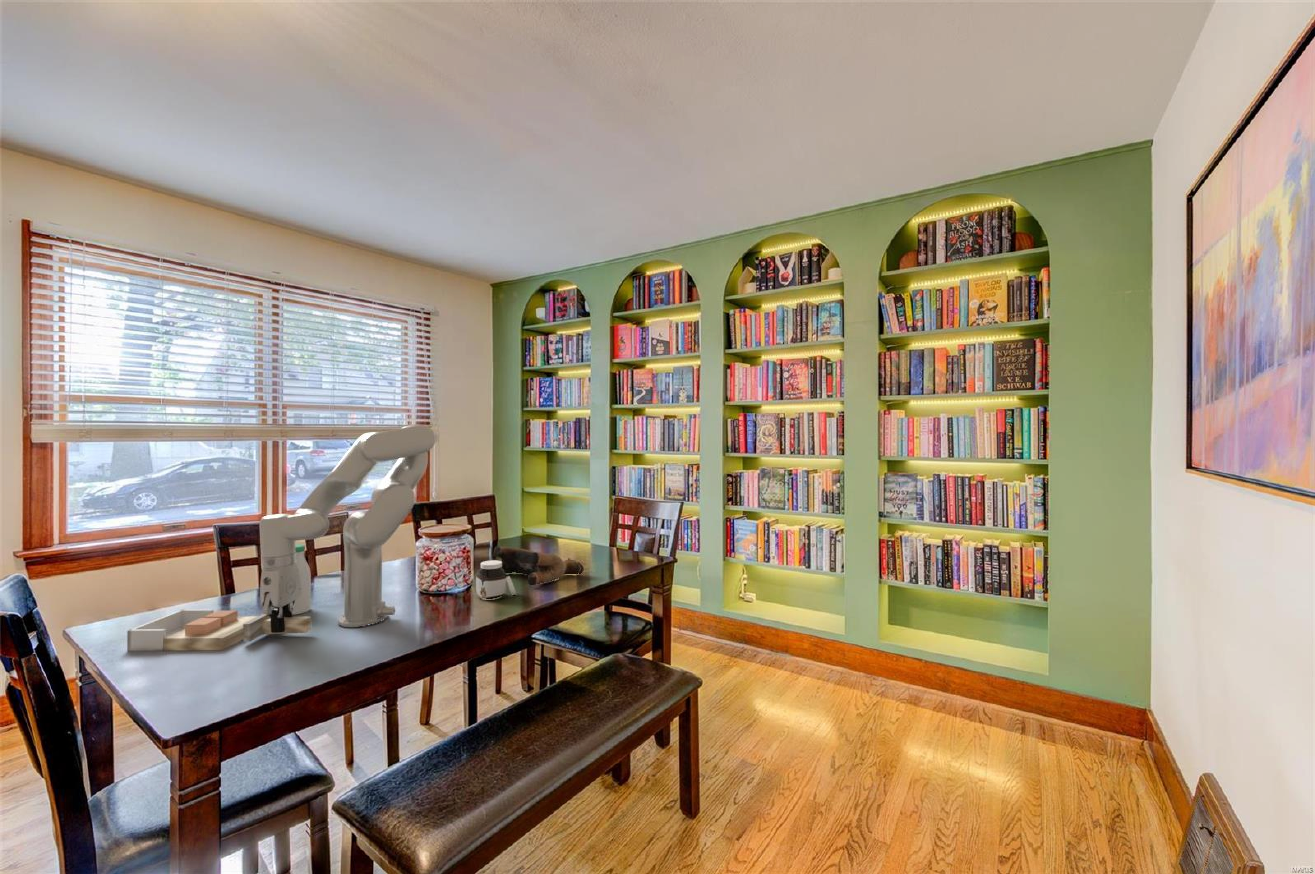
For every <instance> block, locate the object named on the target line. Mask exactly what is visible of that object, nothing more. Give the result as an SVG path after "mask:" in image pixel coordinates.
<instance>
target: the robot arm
mask: <svg viewBox="0 0 1315 874" xmlns="http://www.w3.org/2000/svg"><path fill="white" fill-rule="evenodd" d="M436 441H437V439H436V434H435V432H434V430H433V429H432V428H431V427H429V426H427V425H424V424H409V425H404V426H402V427H401V428H396V429H391V430H384V431H371V432H364V433H363V434H362V435H361V436H359V437H358V438H357V439H356V441H355V442H354V443H353V445H351V447H350V448H349V449H348V450H347V452H346V453H345V454H344V456H342V458H341V460H340V461H339V462H338V463H337V464H336V466H335V467H334V468H333V469H332V470H331V472H329V474H327V476H325V477H324V479H323V480H322V481H321V482H320V483H319V484H318V485H317V486H316V487H315V488H314V489H313V491H312V492H310V493H309V494H308V495H307V497H306V498H305V500H304V501H303V502H302V503H301V505H300V506H299V507H298V508H297V510H296V511H295V512H294V514H293V515H292V514H290V513H276V514H275V513H274V514H270V515H265V516H262V517H261V518H260V519H259V542H260V543H259V544H260V545H259V546H260V563H261V565H260V566H261V575H260V589H259V591H260V592H259V594H260V595H259V596H260V599H259V600H260V605H261V607H262V610H261V613H262V614H267V615H268V616H269V618H270V619H271V632H272V633H280V632H284V631H285V623H284V617H293V615H292V611H293V605H294V603H295V601H296V599H298V598H299V597H300V596H301V581H300V573H299V569H298V565H297V562H296V551H295V545H296V540H297V541H303V540H317V539H320V538H322V537H323V536H325V535H326V534H327V532H328V531H329V529H330V520H329V518H328V516H329V515H330V513H331V512H332V511H334V508H335V507H337V505H338V504H339V503H340V502H341V501H342V500H343V499H346V498H347V497H348V496H350V495H352V494H353V493H355V492H356V491H358V490H359V489H360V488H361V487H362V485H363V484H364V483H365V481H366V480H367V479H368V478H369V476H370V475H371V473H373V471H374V470H375V469H376V467H377V466H378V465H379V464H380V463H382V462H389V461H394V460H397V461H396V462H395V463H394V465H393V466H392V467H391V469H390V470H389V472H388V473H387V474H386V475H385V477H384V478H383V479H382V480H381V482H379V483H378V485H377V486H376V487H375V488H374V490H373V491H372V493H371V498H370V499H371V506H370V507H369V509H368V510H359V511H356V512H354V513H352V514H350V515H349V516H348V518H347V519H346V520H345V521H344V524H343V529H342V536H343V539H342V540H343V548H344V601H343V602H344V605H343V606H344V607H343V608H344V612H343V613H344V614H343V615H341V616H340V617H339V618H338V619H337V624H338V626H340V625H341V627H344V628H360V627H359V626H362V627H365V626H364V625H368V624H372V623H376V624H379V623H380V622H379V621H381V620H383V619H385V618H386V617H387V618H388V616H394V615H395V613H396V608H395V606H393V605H392V606H390V605H389V606H387V605H386V601H383V600H382V599H383V596H382V595H383V550H382V549H383V548H382V546H383V545H385V543H386V542H387V541H389V539H390V538H391V537H393V535H394V533H396V531H397V530H398V528H399V527H400V526H401V525H402V524H403V522H404V521H405V519H406V518H407V517H408V515H410V512H411V511H412V509H413V507H414V505H415V500H416V495H415V492H414V489H415V487H416V486H417V485H418V483H419V482H420V480H421V479H422V478H423V476H424V474H425V473H426V470H427V468H428V462H429V454H428V453H429V451H430V450H432V449H433V448H434V446H435V444H436ZM274 609H277V611H276V610H274ZM262 614H261V615H262ZM387 615H388V616H387ZM387 618H386V619H387ZM386 619H385V620H386ZM383 621H384V620H383ZM378 622H379V623H378ZM381 622H382V621H381ZM372 625H373V624H372ZM368 626H369V625H368Z"/></svg>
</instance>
